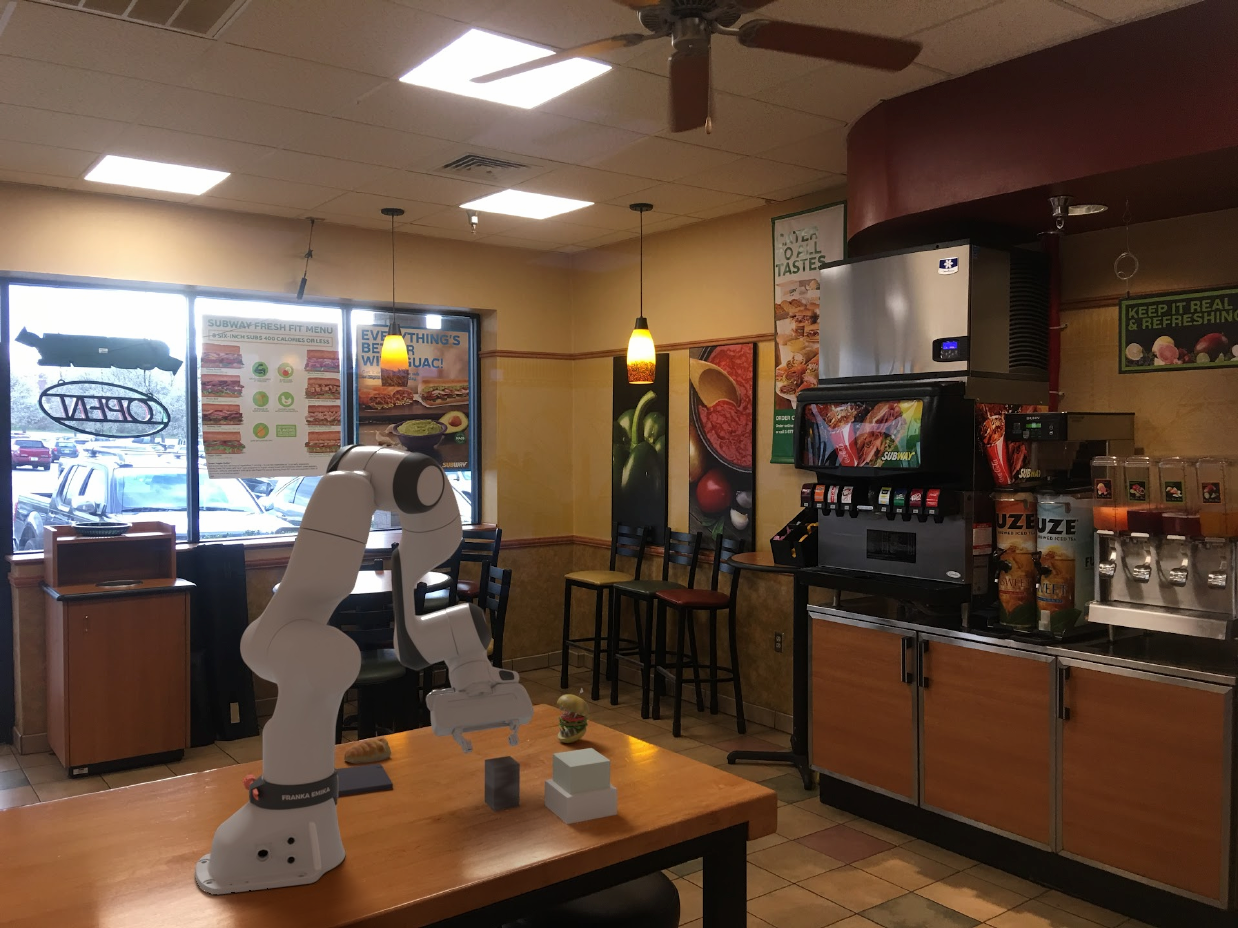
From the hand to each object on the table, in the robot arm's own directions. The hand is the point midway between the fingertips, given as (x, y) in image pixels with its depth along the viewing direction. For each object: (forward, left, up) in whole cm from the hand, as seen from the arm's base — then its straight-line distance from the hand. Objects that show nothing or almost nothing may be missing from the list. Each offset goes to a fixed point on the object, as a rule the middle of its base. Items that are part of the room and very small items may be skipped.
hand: (491, 747), depth 187 cm
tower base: (+12, -14, -9) cm, 21 cm away
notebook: (-26, +19, -10) cm, 34 cm away
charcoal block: (0, -5, -9) cm, 11 cm away
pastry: (-16, +32, -9) cm, 37 cm away
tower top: (+12, -14, -4) cm, 19 cm away
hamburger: (+28, +23, -9) cm, 37 cm away
